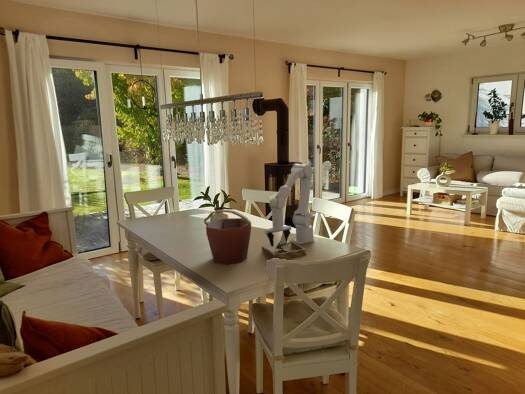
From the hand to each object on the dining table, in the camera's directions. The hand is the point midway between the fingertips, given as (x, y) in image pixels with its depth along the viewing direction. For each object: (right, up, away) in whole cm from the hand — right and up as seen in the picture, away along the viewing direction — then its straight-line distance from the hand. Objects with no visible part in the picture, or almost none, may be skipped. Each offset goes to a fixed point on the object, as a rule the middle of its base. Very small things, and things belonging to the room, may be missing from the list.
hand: (278, 244), depth 199 cm
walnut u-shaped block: (+2, -4, -4) cm, 6 cm away
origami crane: (+4, -4, -2) cm, 6 cm away
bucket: (-25, -6, -9) cm, 27 cm away
